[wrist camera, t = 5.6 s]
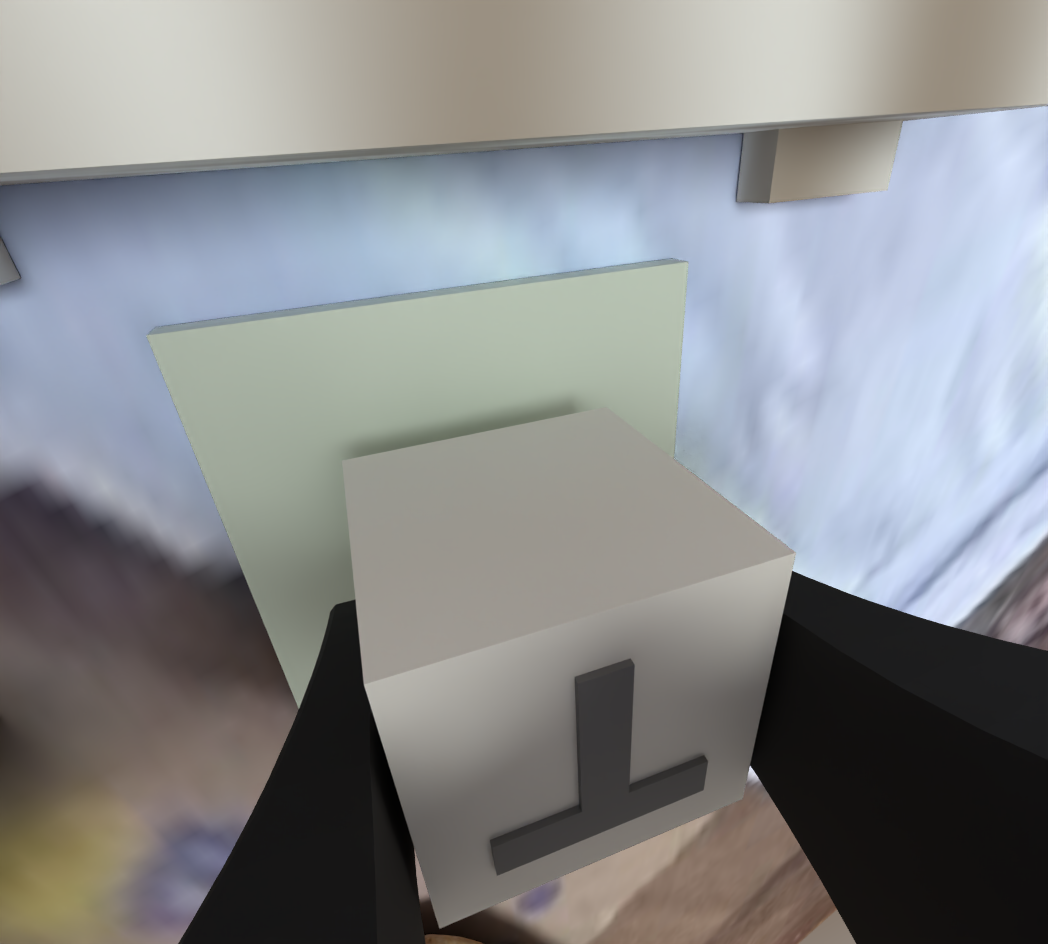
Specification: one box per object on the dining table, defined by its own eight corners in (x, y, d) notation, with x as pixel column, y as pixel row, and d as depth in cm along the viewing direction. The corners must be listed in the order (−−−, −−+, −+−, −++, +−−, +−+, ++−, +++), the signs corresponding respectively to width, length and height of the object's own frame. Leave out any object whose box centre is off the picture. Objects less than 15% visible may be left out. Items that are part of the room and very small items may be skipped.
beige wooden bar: (914, -45, 11) (1192, -150, 7) (866, 187, 13) (1067, 189, 9) (-582, -85, 6) (-1921, -487, 2) (-277, 310, 8) (-746, 412, 4)
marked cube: (606, 407, 11) (801, 558, 6) (605, 601, 13) (746, 804, 9) (341, 460, 9) (364, 693, 5) (395, 664, 12) (440, 937, 8)
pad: (672, 258, 12) (688, 261, 11) (651, 607, 17) (661, 620, 16) (155, 327, 9) (146, 335, 9) (309, 713, 14) (308, 732, 14)
